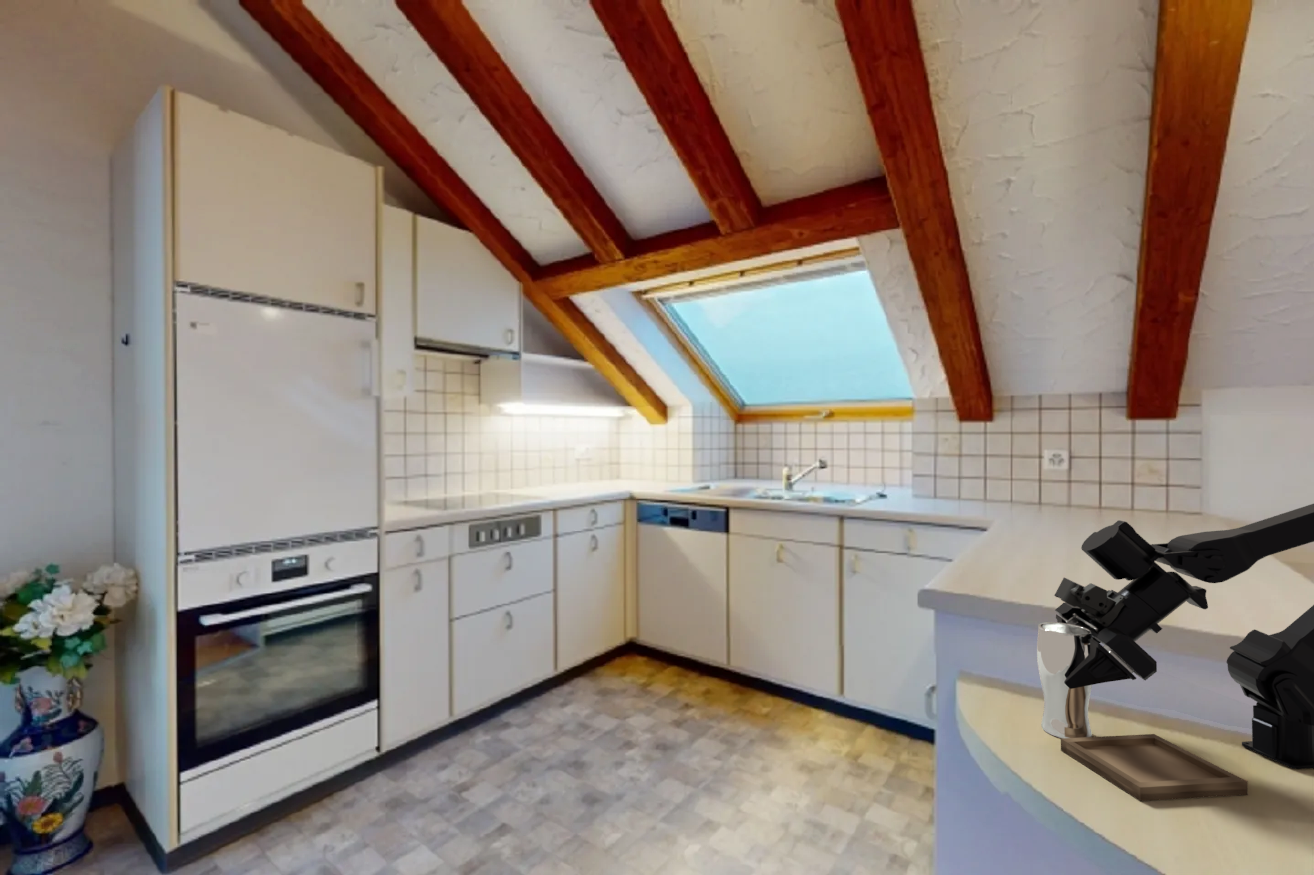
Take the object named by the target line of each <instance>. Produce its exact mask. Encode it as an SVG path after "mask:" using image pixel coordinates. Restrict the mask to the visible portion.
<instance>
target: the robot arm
mask: <svg viewBox="0 0 1314 875" xmlns="http://www.w3.org/2000/svg"><path fill="white" fill-rule="evenodd" d="M1310 543H1314V503H1311V504H1308V505H1305V506H1302V507H1299V508H1296V509H1291V510H1289V511H1287V512H1284V513H1281V514H1280V513H1279V514H1277V515H1274V516H1271V517H1268V518H1264V519H1262V520H1261V519H1260V520H1258V521H1255V522H1253V523H1249V524H1246V525H1243V526H1239V527H1237V528H1229V529H1224V530H1223V529H1221V530H1210V531H1201V532H1195V533H1188V534H1183V535H1178V536H1175V537H1174V538H1172V539H1170V540H1169V541H1167V543H1164V542H1163V543H1154V544H1153V543H1152V544H1151V543H1149V542H1148V541H1147V540H1146V539H1144V538H1143V537H1142V536H1141V535H1140V534H1139V533H1138V532H1136V530H1135V528H1134V527H1133V526H1132V525H1131V524H1129V523H1128V522H1127V521H1123V520H1117V521H1116V522H1115V523H1113V524H1111V525H1108V526H1105V527H1103V528H1101V529H1100V530H1098V531H1094V532H1092V534H1090V535H1089V536H1088V537H1087V538H1086V539H1084V541H1083V542H1082V544H1081V548H1080V549H1081V551H1082V552H1084V553H1085V554H1086V555H1088V557H1089V558H1091V560H1093V561H1094V562H1095V563H1096V564H1097V565H1098V566H1099V567H1100V568H1102V570H1103V571H1105V572H1106V573H1107V574H1108V575H1110V577H1112V578H1113V579H1114V580H1126V581H1127V582H1128V581H1130V582H1128V583H1127V584H1126V585H1125V586H1124V587H1123V588H1121V589H1120V590H1119V591H1118V592H1117V591H1115V590H1113V589H1111V590H1109V589H1108V590H1106V589H1105V588H1103V587H1100V586H1098V585H1096V584H1094V583H1089V584H1086V585H1085V586H1083V585H1081V584H1079V583H1077V582H1075V581H1073V580H1070V579H1069V578H1066V577H1063V578H1062V580H1061V582H1060V584H1059V585H1058V587H1057V589H1056V592H1055V593H1054V595H1053V596H1054V597H1055V598H1059V599H1060V600H1061V601H1062V602H1063V603H1061V604H1060V605H1059V606H1058V607H1057V608H1055V609H1054V611H1055V612H1056V613H1057V614H1056V615H1055V619H1056V622H1058V623H1067V624H1072V625H1077V626H1081V627H1084V628H1087V629H1089V630H1091V631H1092V638H1091V639H1090V654H1089V655H1088V656H1087V657H1086V658H1085V659H1084V660H1083V661H1082V662H1081V663H1080V664H1079V665H1078V667H1077V668H1076V669H1075V670H1074V671H1073V672H1072V673H1071V674H1070V675H1069V676H1068V677H1067V679H1066V680H1065V681H1064V683H1065V684H1066V685H1067V686H1068V687H1069V688H1070V689H1073V688H1078V687H1083V686H1088V685H1092V686H1093V685H1098V684H1103V683H1110V682H1117V681H1123V680H1132V681H1135V680H1136V679H1137V677H1136V676H1138V677H1139V678H1141V680H1143V681H1146V680H1148V679H1149V678H1151V677H1152V676H1153V675H1154V674H1156V673H1157V670H1158V669H1157V668H1158V666H1157V662H1158V661H1157V660H1155V659H1154V658H1153V657H1152V656H1151V655H1150V653H1148V652H1147V651H1146V650H1144V648H1142V647H1141V646H1140V645H1139V644H1138V643H1137V642H1136V641H1138V640H1139V639H1140V638H1142V637H1143V636H1144V635H1146V634H1147V633H1148V632H1149V631H1151V632H1153V633H1155V634H1158V633H1159V632H1161V631H1162V630H1163V628H1162V627H1161V626H1160V625H1159V623H1160V622H1162V621H1164V619H1166V617H1168V616H1169V615H1171V614H1172V613H1173V612H1174V611H1175V610H1177V609H1178V608H1180V607H1181V606H1182V605H1183V604H1185V603H1188V604H1189V605H1192V606H1194V607H1197V608H1200V609H1201V610H1207V609H1208V608H1209V605H1208V600H1207V597H1206V596H1207V589H1206V588H1203V587H1201V586H1198V585H1192V584H1190V582H1188V581H1187V580H1186V579H1185V578H1184V577H1182V575H1184V576H1187V577H1190V578H1192V579H1196V580H1198V581H1201V582H1205V583H1209V584H1219V583H1224V582H1226V581H1228V580H1231V579H1232V578H1235V577H1237V576H1239V575H1241V574H1243V573H1245V572H1247V571H1249V570H1250V569H1251V568H1252V567H1253V566H1254V565H1255V564H1256V563H1258V561H1260V560H1262V559H1264V558H1266V557H1268V556H1272V555H1274V554H1278V553H1281V552H1284V551H1287V550H1291V549H1294V548H1297V547H1300V546H1304V545H1308V544H1310ZM1158 563H1160V564H1163V565H1167V566H1169V567H1170V568H1171V569H1172V570H1174V571H1166V570H1164V568H1162V567H1161V565H1159V564H1158ZM1180 574H1181V575H1180ZM1229 649H1230V650H1232V652H1231V653H1230V654H1229V656H1228V657H1227V659H1226V664H1227V671H1228V673H1229V675H1230V678H1231V679H1232V680H1234V682H1235V683H1237V684H1238V685H1239V686H1240V688H1241V690H1242V692H1243V695H1244V696H1245V697H1247V698H1249V699H1252V700H1254V701H1255V702H1256V705H1252V716H1253V717H1252V718H1251V741H1250V740H1249V741H1247V740H1246V741H1241V746H1242V747H1245V748H1246V749H1248V750H1250V751H1253V752H1255V753H1257V754H1260V755H1262V756H1264V757H1266V758H1268V759H1270V760H1273V761H1275V762H1277V763H1279V764H1281V765H1284V766H1285V767H1287V768H1290V769H1294V770H1305V769H1309V770H1310V769H1314V604H1313V605H1312V606H1310V607H1309V608H1308V609H1307V610H1306V611H1305V612H1303V613H1302V614H1301V615H1300V616H1299V617H1298V618H1296V619H1295V620H1294V621H1293V622H1292V623H1291V624H1289V625H1288V626H1286V628H1285V629H1283V630H1281V631H1278V632H1276V633H1271V634H1267V633H1265V632H1263V631H1260V630H1258V629H1252V630H1251V631H1249V632H1248V633H1247V634H1246V636H1245V637H1244V638H1243V639H1242V640H1241V641H1240V642H1238V643H1237V644H1234V645H1232V646H1229ZM1134 674H1135V675H1136V676H1135V675H1134Z"/></svg>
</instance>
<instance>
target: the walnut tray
mask: <svg viewBox="0 0 1314 875" xmlns="http://www.w3.org/2000/svg"><path fill="white" fill-rule="evenodd" d="M1060 751H1061V752H1063V753H1064V754H1066V755H1068V756H1069V757H1071V758H1072V759H1074V760H1075V761H1077V762H1078V763H1079V764H1081V765H1082V766H1084V767H1086V768H1088V769H1090V771H1092V772H1094V773H1096V774H1097V775H1098V776H1100V777H1101V778H1103V779H1105V780H1107V781H1108V782H1110V784H1111V783H1112V785H1114V786H1115V787H1117V788H1118V789H1120V790H1122V791H1123V792H1125V793H1126V794H1128V795H1129V796H1131V797H1133V798H1134V799H1136V800H1138V801H1139V802H1151V801H1152V802H1153V801H1166V800H1167V801H1170V800H1171V801H1173V800H1183V799H1184V800H1186V799H1200V798H1203V799H1204V798H1219V797H1233V796H1234V797H1235V796H1248V795H1249V791H1248V783H1249V782H1248V780H1245V779H1244V778H1242V777H1240V776H1238V775H1236V774H1234V773H1233V772H1230V771H1228V770H1227V769H1225V768H1222V767H1220V766H1218V765H1216V764H1215V763H1212V762H1210V761H1209V760H1206V759H1204V757H1203V758H1202V757H1200V756H1198V755H1196V754H1194V753H1192V752H1190V751H1189V750H1187V749H1185V748H1183V747H1181V746H1178V745H1177V744H1175V743H1173V742H1171V741H1169V740H1168V739H1165V738H1162V737H1161V736H1159V735H1157V734H1155V733H1149V734H1148V733H1147V734H1127V735H1126V734H1125V735H1108V736H1106V735H1104V736H1092V737H1082V738H1060Z"/></svg>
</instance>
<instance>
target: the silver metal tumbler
mask: <svg viewBox="0 0 1314 875" xmlns="http://www.w3.org/2000/svg"><path fill="white" fill-rule="evenodd" d="M1037 627H1038V630H1037V639H1036V658H1037V659H1036V661H1037V668H1038V673H1039V678H1040V684H1041V688H1042V694H1043V701H1044V706H1043V708H1044V709H1043V714H1042V718H1041V729H1042V730H1043V731H1045V732H1046V733H1047V734H1049V735H1051V736H1054V737H1056V738H1059V739H1061V738H1082V737H1093V734H1092V733H1093V732H1092V729H1091V728H1092V727H1091V723H1090V718H1089V703H1090V698H1091V693H1092V688H1093V685H1088V686H1083V687H1078V688H1073V689H1070V688H1069V687H1068V686H1067V685H1066V684H1065V683H1064V681H1065V680H1066V679H1067V677H1068V676H1069V675H1070V674H1071V673H1072V672H1073V671H1074V670H1075V669H1076V668H1077V667H1078V665H1079V664H1080V663H1081V662H1082V661H1083V660H1084V659H1085V658H1086V657H1087V656H1088V655H1089V654H1090V639H1091V638H1092V631H1091V630H1089V629H1087V628H1084V627H1081V626H1077V625H1072V624H1067V623H1058V622H1057V621H1046V622H1041V623H1038V625H1037Z"/></svg>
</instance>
